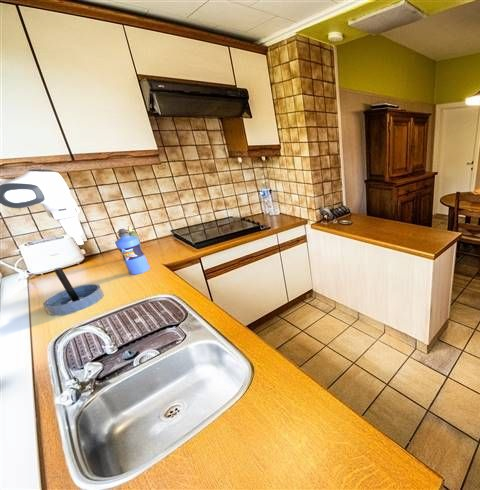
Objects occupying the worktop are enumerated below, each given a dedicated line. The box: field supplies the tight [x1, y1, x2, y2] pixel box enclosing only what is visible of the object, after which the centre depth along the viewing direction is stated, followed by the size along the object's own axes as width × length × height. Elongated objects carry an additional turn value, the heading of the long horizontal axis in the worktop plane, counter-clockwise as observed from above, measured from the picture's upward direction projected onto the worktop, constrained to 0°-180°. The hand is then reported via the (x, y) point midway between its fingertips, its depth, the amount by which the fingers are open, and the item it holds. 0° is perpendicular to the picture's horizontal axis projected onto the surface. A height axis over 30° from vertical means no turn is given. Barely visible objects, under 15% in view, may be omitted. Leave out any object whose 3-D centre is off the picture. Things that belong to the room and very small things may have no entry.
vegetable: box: [127, 225, 143, 251], centre depth 165 cm, size 4×4×20 cm
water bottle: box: [114, 228, 151, 276], centre depth 144 cm, size 9×9×25 cm
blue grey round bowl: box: [42, 283, 105, 317], centre depth 118 cm, size 18×18×6 cm
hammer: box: [53, 267, 84, 303], centre depth 115 cm, size 6×6×18 cm
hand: (79, 241), depth 112 cm, fingers open, 8 cm apart
